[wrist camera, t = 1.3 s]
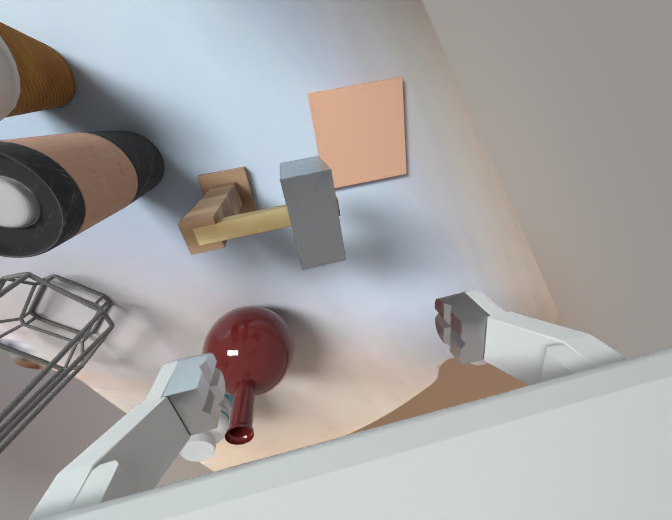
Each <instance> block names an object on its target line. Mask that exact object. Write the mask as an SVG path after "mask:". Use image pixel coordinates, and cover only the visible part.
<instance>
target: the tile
mask: <svg viewBox="0 0 672 520" xmlns="http://www.w3.org/2000/svg"><path fill="white" fill-rule="evenodd" d="M308 98H309V104H310V109H311V115H312V121H313V126H314V132H315V138H316V143H317V149H318V155H319V157H320V158H321V159H322V160H323V161H324V162H325V163H326V164H327V165H328V166H329V167H330V168H331V170H332V176H333V183H334V188H338V187H343V186H348V185H353V184H358V183H363V182H368V181H373V180H378V179H383V178H388V177H392V176H397V175H402V174H407V173H406V151H405V128H404V106H403V83H402V77H399V78H394V79H388V80H382V81H376V82H371V83H365V84H359V85H354V86H348V87H342V88H336V89H331V90H325V91H319V92H314V93H308Z"/></svg>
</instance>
